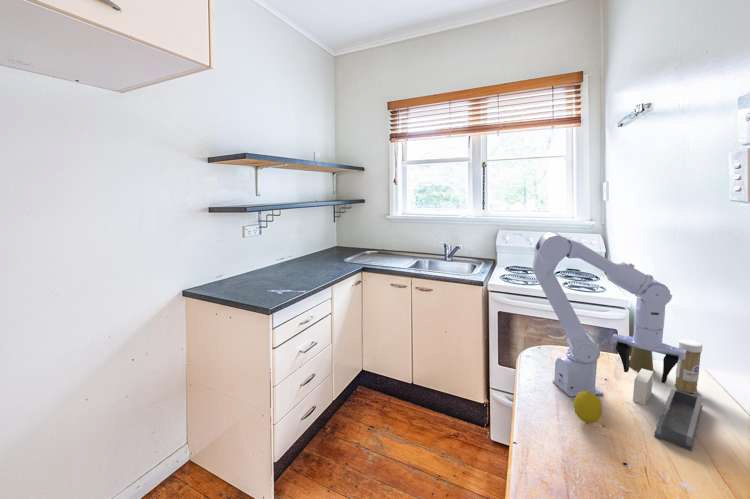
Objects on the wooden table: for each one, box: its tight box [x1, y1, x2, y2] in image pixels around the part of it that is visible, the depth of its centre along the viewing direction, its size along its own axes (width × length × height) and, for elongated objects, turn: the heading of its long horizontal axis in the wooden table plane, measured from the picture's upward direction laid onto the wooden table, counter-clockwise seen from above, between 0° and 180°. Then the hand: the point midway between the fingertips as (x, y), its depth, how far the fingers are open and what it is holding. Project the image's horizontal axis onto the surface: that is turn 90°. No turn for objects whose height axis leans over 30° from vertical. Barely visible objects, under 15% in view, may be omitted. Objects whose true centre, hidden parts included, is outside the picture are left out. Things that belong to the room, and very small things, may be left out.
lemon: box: [573, 391, 603, 424], centre depth 77 cm, size 6×6×8 cm
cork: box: [629, 333, 654, 373], centre depth 101 cm, size 6×6×11 cm
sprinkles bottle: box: [674, 338, 703, 394], centre depth 89 cm, size 5×5×13 cm
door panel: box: [632, 368, 654, 406], centre depth 87 cm, size 8×2×6 cm, turn 131°
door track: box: [653, 388, 703, 452], centre depth 77 cm, size 20×6×3 cm, turn 131°
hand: (644, 376), depth 86 cm, fingers open, 7 cm apart
